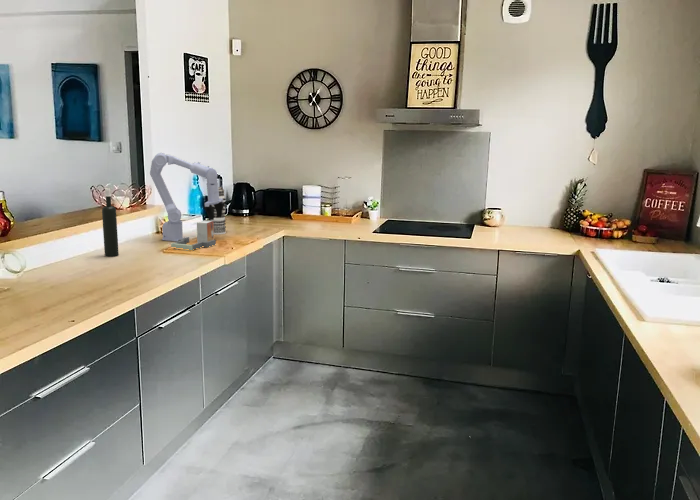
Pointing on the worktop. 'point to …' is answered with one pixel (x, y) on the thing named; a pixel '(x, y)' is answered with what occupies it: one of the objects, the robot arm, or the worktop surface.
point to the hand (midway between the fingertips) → (215, 218)
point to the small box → (205, 231)
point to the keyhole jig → (183, 241)
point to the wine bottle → (110, 227)
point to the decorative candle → (220, 221)
